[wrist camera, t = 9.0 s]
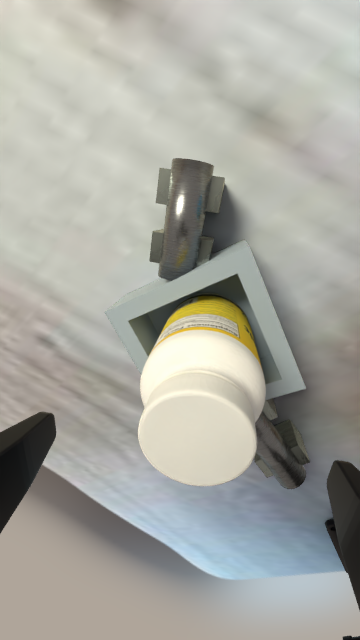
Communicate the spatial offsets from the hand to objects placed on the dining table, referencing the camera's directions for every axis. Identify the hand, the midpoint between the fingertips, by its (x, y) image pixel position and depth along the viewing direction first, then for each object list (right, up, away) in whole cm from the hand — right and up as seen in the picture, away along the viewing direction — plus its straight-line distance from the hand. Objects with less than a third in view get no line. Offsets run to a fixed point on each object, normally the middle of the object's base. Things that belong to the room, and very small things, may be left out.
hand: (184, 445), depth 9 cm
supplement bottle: (+2, +3, +10) cm, 10 cm away
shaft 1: (0, +10, +8) cm, 13 cm away
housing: (+2, +4, +10) cm, 11 cm away
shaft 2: (+6, -3, +12) cm, 13 cm away
